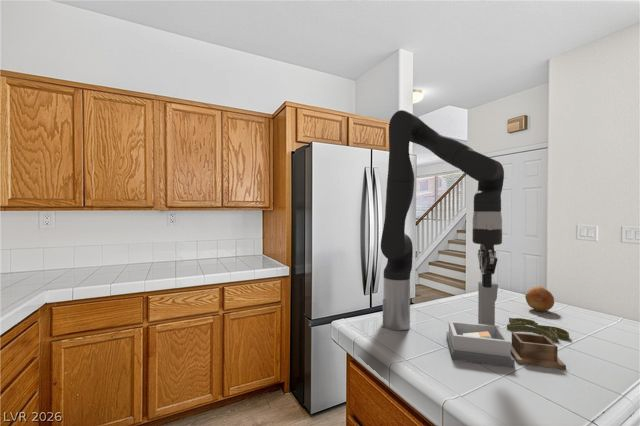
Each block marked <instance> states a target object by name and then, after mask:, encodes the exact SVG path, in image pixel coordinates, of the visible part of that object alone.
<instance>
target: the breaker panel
mask: <svg viewBox="0 0 640 426" xmlns="http://www.w3.org/2000/svg"><path fill="white" fill-rule="evenodd" d="M486 331H488V332H489V334H490V336H491V338H492V339H491V338H482V337H474V336H465V335H463V333H474V332H486ZM446 342H447V344H448V345H447V346H448V349H449V352H450V356H451V359H452V360H455V361H456V360H457V361H462V362H472V363H478V364H479V363H480V364H485V365H493V366H500V367H509V368H515V362H516V360H515V359H514V358H513V356H512V355H511V343H512V341H511V340H509V338H508V337H507V335H506V333H504V331H503V330H502V328H501V327H500V326H499V325H495V326H493V325H484V324H478V323H472V322H463V321H454V320H449V321H448V331H446Z"/></svg>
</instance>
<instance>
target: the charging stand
mask: <svg viewBox="0 0 640 426" xmlns="http://www.w3.org/2000/svg"><path fill="white" fill-rule="evenodd" d="M558 349H559V347H558V346H557V344H555V342H554V341H551V340H550V339H549V338H548V337H546V336H544V335H542V334H535V333H534V334H533V333H524V332H514V331H511V356H512V357H513V358H514V360H515V362H516V363H517V364H522V365H529V366H537V367H546V368H551V369H552V368H553V369H559V370H566V369H567V365H566V364H565V363H564V362H563V361H562V360H561V359H560V358H559V357H558Z"/></svg>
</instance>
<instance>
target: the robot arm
mask: <svg viewBox="0 0 640 426" xmlns="http://www.w3.org/2000/svg"><path fill="white" fill-rule="evenodd" d="M410 143H414V144H415V145H418V146H421V147H423V148H425V149H427V150H429V151H430V152H431V153H433V154H434V155H435V156H437V157H438V158H439V159H441V160H443V161H444V162H446V163H447V164H449V165H451V166H453V167H455V168H457V169H459V170H461V171H462V172H463V173H465V175H467V176H468V177H470V178H471V179H473V180H475V181H477V192H475V194H474V195H473V214H472V242H473V244H477V245H480V246H479V248H478V249H477V257H478V265H479V267H478V268H479V270H480V273H481V282H482V286H483V287H485V288H491V287H492V282H493V281H492V280H493V278H492V276H493V275H494V274H495V272H496V268H497V262H498V258H497V251H496V250H495V245H497V246H498V245H501V244H503V217H502V192H503V187H504V179H505V170H504V166H503V165H502V163H501V162H499V161H498V160H496V159H493V158H492V157H489V156H487V155H485V154H482V153H481V152H478V151H476V150H474V149H473V148H471V147H470V146H469V145H466V144H464V143H463V142H461V141H459V140H456V139H455V138H453V137H450V136H447V135H445V134H443V133H440V132H439V131H436V130H435V129H433V128H431V127H430V126H429V125H428V124H426V123H425V122H424V121H423V120H422V119H420V118H419V117H418V116H417V115H416V114H414V113H413V112H409V111H407V110H404V109H400V110H397V111H396V112H395V113H393V115H392V116H391V118H390V119H389V124H388V165H387V166H388V167H387V168H388V169H387V178H386V179H387V180H386V193H385V194H386V195H385V210H384V211H385V212H384V221H383V222H384V223H383V228H382V234H381V239H380V251H381V253H382V254H383V256H384V257H385V258H386V259H387V261H386V265H385V267H384V269H383V299H382V328H387V329H389V330H392V331H407V330H409V329H410V327H411V273H412V269H413V258H414V257H413V256H414V255H413V253H414V251H413V241H412V239H411V237H410V236H409V235H408V234H406V233H405V227H406V226H405V225H406V219H407V216H408V212H409V211H410V207H411V204H412V201H413V197H414V191H415V189H414V188H415V174H414V173H415V172H414V167H413V165H412V161H411V157H410Z"/></svg>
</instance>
